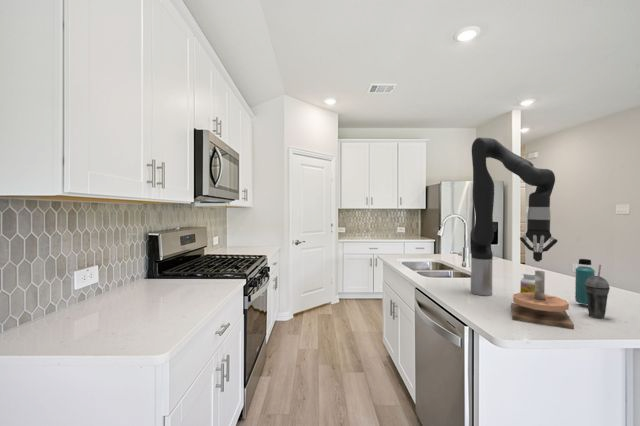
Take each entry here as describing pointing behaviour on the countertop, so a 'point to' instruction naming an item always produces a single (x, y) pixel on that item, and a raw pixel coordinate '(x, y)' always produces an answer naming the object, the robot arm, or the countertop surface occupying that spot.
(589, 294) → the beverage cup
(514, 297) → the collar
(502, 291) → the countertop surface
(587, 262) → the beverage bottle
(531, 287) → the supplement bottle
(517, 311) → the pipe stand
